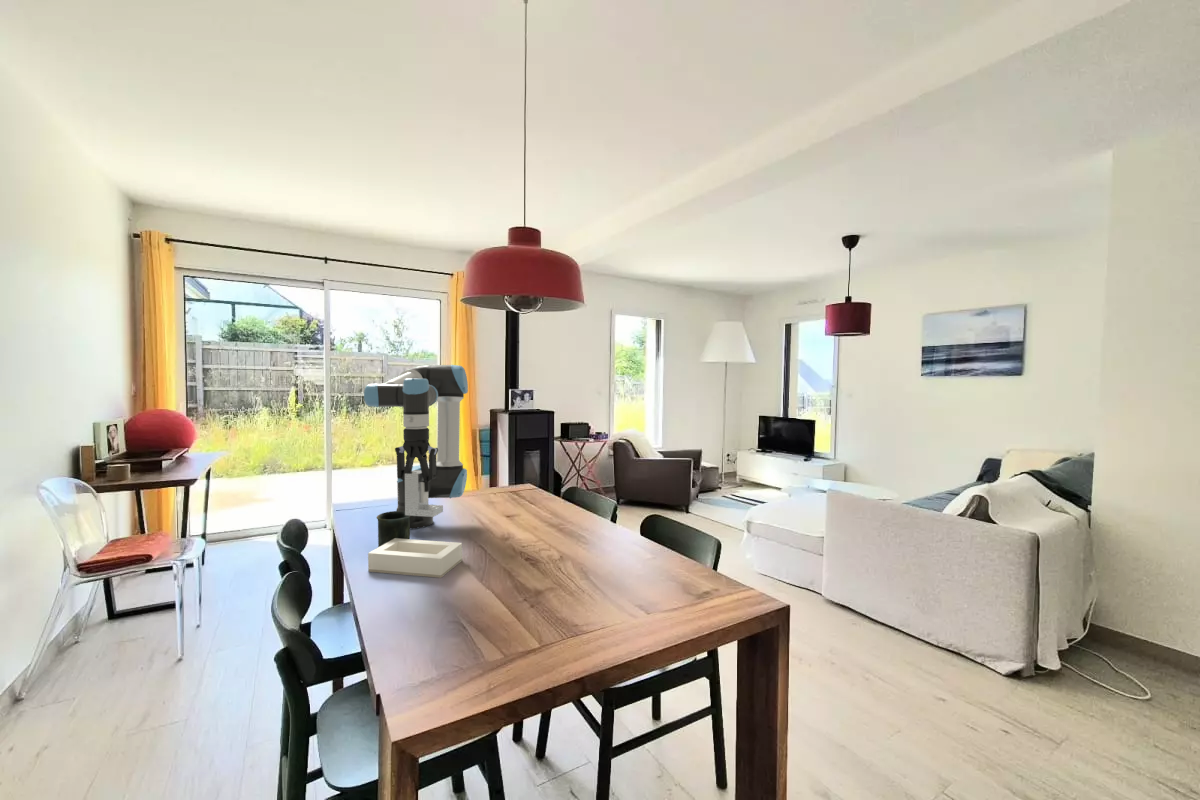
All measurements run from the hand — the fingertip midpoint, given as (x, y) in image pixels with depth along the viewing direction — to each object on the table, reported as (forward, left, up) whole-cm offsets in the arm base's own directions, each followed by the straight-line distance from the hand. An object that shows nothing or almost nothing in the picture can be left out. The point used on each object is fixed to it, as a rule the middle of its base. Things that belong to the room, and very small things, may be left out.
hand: (416, 501), depth 154 cm
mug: (-13, -17, -21) cm, 30 cm away
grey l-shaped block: (0, +2, -4) cm, 4 cm away
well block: (0, 0, -21) cm, 21 cm away
